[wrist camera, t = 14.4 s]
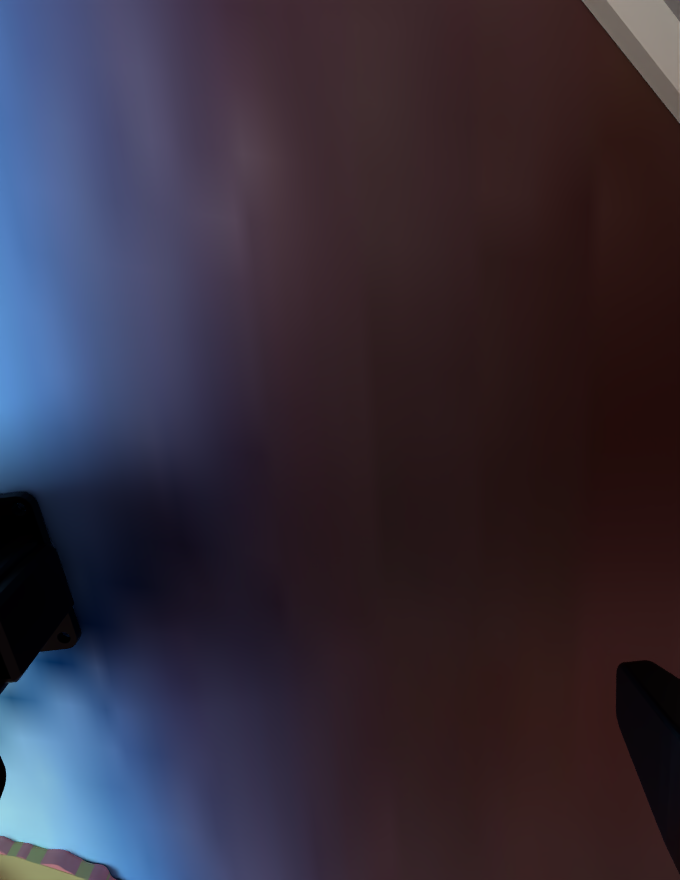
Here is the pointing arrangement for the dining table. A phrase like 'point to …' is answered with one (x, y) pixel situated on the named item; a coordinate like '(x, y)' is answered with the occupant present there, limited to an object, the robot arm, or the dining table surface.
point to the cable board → (647, 41)
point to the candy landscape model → (45, 864)
